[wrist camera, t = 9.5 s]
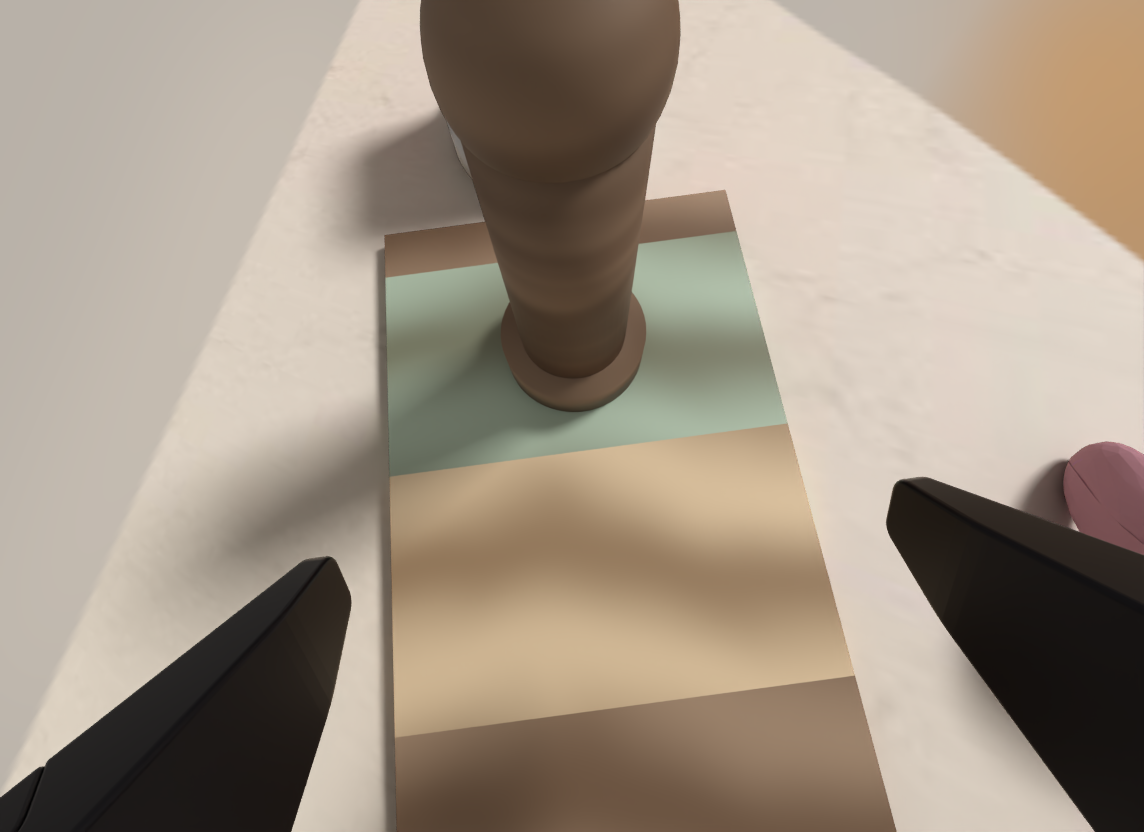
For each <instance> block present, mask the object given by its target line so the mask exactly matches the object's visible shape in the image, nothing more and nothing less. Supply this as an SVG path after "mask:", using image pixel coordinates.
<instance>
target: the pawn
mask: <svg viewBox="0 0 1144 832" xmlns="http://www.w3.org/2000/svg"><path fill="white" fill-rule="evenodd" d="M420 35H421V45H422V53H423V59H424V63H425V67H426V71H427V75H428V79H429V83H430V86H431V89H432V91H433V94H434V96H435V99H436V101H437V103H438V105H439V108H440V110H441V112H442V114H443V115H444V117H445V119H446V120H447V122H448V124H449V125H450V127H451V128H452V130H453V131H454V133H455V134H456V136H457V137H458V138H459V139H460V141H461V144H462V147H463V151H464V154H465V157H466V160H467V164H468V167H469V170H470V173H471V177H472V180H473V183H474V186H475V190H476V193H477V196H478V200H479V203H480V206H481V209H482V213H483V216H484V219H485V222H486V226H487V229H488V232H489V236H490V239H491V242H492V245H493V249H494V252H495V255H496V258H497V262H498V265H499V268H500V272H501V275H502V278H503V281H504V285H505V288H506V291H507V294H508V298H509V301H510V302H509V304H508V306H507V308H506V310H505V312H504V316H503V319H502V324H501V343H502V348H503V352H504V355H505V357H506V359H507V362H508V364H509V367H510V369H511V372H512V374H513V376H514V378H515V380H516V382H517V383H518V385H519V386H520V387H521V389H522V390H523V391H524V392H525V393H526V394H527V395H528V396H529V397H531V398H532V399H534V400H535V401H536V402H538V403H540V404H542V405H544V406H546V407H549V408H551V409H555V410H559V411H565V412H583V411H589V410H593V409H596V408H599V407H602V406H604V405H606V404H608V403H610V402H612V401H613V400H615V399H616V398H617V397H619V396H620V395H621V394H622V393H623V392H624V391H625V390H626V389H627V388H628V387H629V385H630V384H631V383H632V381H633V380H634V378H635V376H636V374H637V372H638V369H639V367H640V363H641V358H642V354H643V350H644V346H645V341H646V321H645V316H644V313H643V310H642V307H641V305H640V303H639V302H638V300H637V298H636V297H635V295H634V294H633V293H632V287H633V280H634V273H635V266H636V259H637V252H638V245H639V238H640V231H641V224H642V217H643V210H644V203H645V196H646V189H647V182H648V175H649V169H650V162H651V155H652V148H653V141H654V134H655V127H656V123H657V121H658V119H659V117H660V116H661V113H662V111H663V109H664V107H665V104H666V102H667V99H668V97H669V94H670V92H671V88H672V85H673V81H674V77H675V73H676V68H677V64H678V56H679V46H680V12H679V2H678V0H421V7H420Z"/></svg>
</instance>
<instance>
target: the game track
mask: <svg viewBox="0 0 1144 832" xmlns="http://www.w3.org/2000/svg"><path fill="white" fill-rule="evenodd" d="M385 284H386V333H387V382H388V431H389V480H390V529H391V578H392V627H393V676H394V725H395V774H396V823H397V832H896V828H895V824H894V821H893V817H892V813H891V809H890V806H889V802H888V798H887V794H886V791H885V787H884V783H883V779H882V776H881V772H880V768H879V764H878V761H877V757H876V753H875V749H874V746H873V742H872V738H871V734H870V731H869V727H868V723H867V719H866V716H865V712H864V708H863V704H862V701H861V697H860V693H859V689H858V686H857V682H856V678H855V674H854V671H853V667H852V663H851V659H850V656H849V652H848V648H847V644H846V641H845V637H844V633H843V629H842V626H841V622H840V618H839V614H838V611H837V607H836V603H835V599H834V596H833V592H832V588H831V584H830V581H829V577H828V573H827V569H826V566H825V562H824V558H823V554H822V551H821V547H820V543H819V539H818V536H817V532H816V528H815V524H814V521H813V517H812V513H811V509H810V506H809V502H808V498H807V494H806V491H805V487H804V483H803V479H802V476H801V472H800V468H799V464H798V461H797V457H796V453H795V449H794V446H793V442H792V438H791V434H790V431H789V427H788V423H787V419H786V416H785V412H784V408H783V404H782V401H781V397H780V393H779V389H778V386H777V382H776V378H775V374H774V371H773V367H772V363H771V359H770V356H769V352H768V348H767V344H766V341H765V337H764V333H763V329H762V326H761V322H760V318H759V314H758V311H757V307H756V303H755V299H754V296H753V292H752V288H751V284H750V281H749V277H748V273H747V269H746V266H745V262H744V258H743V254H742V251H741V247H740V243H739V239H738V236H737V232H736V228H735V224H734V221H733V217H732V213H731V209H730V206H729V202H728V198H727V194H726V191H725V190H721V191H713V192H706V193H698V194H691V195H683V196H676V197H668V198H661V199H653V200H646V201H645V203H644V210H643V217H642V224H641V231H640V238H639V245H638V252H637V259H636V266H635V273H634V280H633V287H632V293H633V294H634V295H635V297H636V298H637V300H638V302H639V303H640V305H641V307H642V310H643V313H644V316H645V321H646V341H645V346H644V350H643V354H642V358H641V363H640V367H639V369H638V372H637V374H636V376H635V378H634V380H633V381H632V383H631V384H630V385H629V387H628V388H627V389H626V390H625V391H624V392H623V393H622V394H621V395H620V396H619V397H617V398H616V399H615V400H613V401H612V402H610V403H608V404H606V405H604V406H602V407H599V408H596V409H593V410H589V411H583V412H565V411H559V410H555V409H551V408H549V407H546V406H544V405H542V404H540V403H538V402H536V401H535V400H534V399H532V398H531V397H529V396H528V395H527V394H526V393H525V392H524V391H523V390H522V389H521V387H520V386H519V385H518V383H517V382H516V380H515V378H514V376H513V374H512V372H511V369H510V367H509V364H508V362H507V359H506V357H505V355H504V352H503V348H502V343H501V324H502V319H503V316H504V312H505V310H506V308H507V306H508V304H509V302H510V301H509V298H508V294H507V291H506V288H505V285H504V281H503V278H502V275H501V272H500V268H499V265H498V262H497V258H496V255H495V252H494V249H493V245H492V242H491V239H490V236H489V232H488V229H487V226H486V222H480V223H473V224H465V225H458V226H450V227H443V228H435V229H428V230H420V231H412V232H405V233H397V234H390V235H385Z"/></svg>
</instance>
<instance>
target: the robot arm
mask: <svg viewBox="0 0 1144 832" xmlns="http://www.w3.org/2000/svg"><path fill="white" fill-rule="evenodd" d="M886 526H887V531H888V533H889V536H890V538H891V539H892V541H893V543H894V544H895V546H896V548H897V549H898V551H899V553H900V554H901V556H902V558H903V559H904V561H905V563H906V564H907V566H908V568H909V570H910V571H911V573H912V575H913V576H914V578H915V580H916V581H917V583H918V585H919V586H920V588H921V590H922V591H923V593H924V595H925V596H926V598H927V600H928V601H929V603H930V605H931V606H932V608H933V610H934V611H935V613H936V614H937V616H938V617H939V619H940V621H941V622H942V624H943V625H944V626H945V628H946V629H947V631H948V632H949V634H950V635H951V636H952V638H953V639H954V641H955V642H956V643H957V645H958V646H959V647H960V649H961V650H962V651H963V653H964V654H965V656H966V657H967V658H968V660H969V661H970V662H971V664H972V665H973V666H974V668H975V669H976V671H977V672H978V673H979V675H980V676H981V677H982V679H983V680H984V681H985V683H986V684H987V685H988V687H989V688H990V690H991V691H992V692H993V694H994V695H995V696H996V698H997V699H998V700H999V702H1000V703H1001V705H1002V706H1003V707H1004V709H1005V710H1006V711H1007V713H1008V714H1009V715H1010V717H1011V718H1012V720H1013V721H1014V722H1015V724H1016V725H1017V726H1018V728H1019V729H1020V730H1021V732H1022V733H1023V734H1024V736H1025V737H1026V739H1027V740H1028V741H1029V743H1030V744H1031V745H1032V747H1033V748H1034V749H1035V751H1036V752H1037V754H1038V755H1039V756H1040V758H1041V759H1042V760H1043V762H1044V763H1045V764H1046V766H1047V767H1048V769H1049V770H1050V771H1051V773H1052V774H1053V775H1054V777H1055V778H1056V779H1057V781H1058V782H1059V784H1060V785H1061V786H1062V788H1063V789H1064V790H1065V792H1066V793H1067V794H1068V796H1069V797H1070V798H1071V800H1072V801H1073V803H1074V804H1075V805H1076V807H1077V808H1078V809H1079V811H1080V812H1081V813H1082V815H1083V816H1084V818H1085V819H1086V820H1087V822H1088V823H1089V824H1090V826H1091V827H1092V828H1093V830H1094V831H1095V832H1144V555H1142V554H1140V553H1137V552H1134V551H1131V550H1129V549H1126V548H1123V547H1120V546H1117V545H1115V544H1112V543H1109V542H1106V541H1103V540H1101V539H1098V538H1095V537H1092V536H1090V535H1087V534H1084V533H1081V532H1078V531H1076V530H1073V529H1070V528H1067V527H1064V526H1062V525H1059V524H1056V523H1053V522H1051V521H1048V520H1045V519H1042V518H1039V517H1037V516H1034V515H1031V514H1028V513H1025V512H1023V511H1020V510H1017V509H1014V508H1012V507H1009V506H1006V505H1003V504H1000V503H998V502H995V501H992V500H989V499H987V498H984V497H981V496H978V495H975V494H973V493H970V492H967V491H964V490H961V489H959V488H956V487H953V486H950V485H948V484H945V483H942V482H939V481H936V480H934V479H931V478H928V477H916V478H909V479H902V480H899V481H897V482H896V484H895V485H894V487H893V491H892V496H891V500H890V505H889V510H888V514H887V519H886ZM350 611H351V595H350V591H349V589H348V587H347V584H346V582H345V580H344V578H343V575H342V573H341V571H340V568H339V566H338V564H337V562H336V560H335V559H334V558H332V557H329V556H326V557H318V558H310V559H306V560H304V561H302V562H301V563H299V564H298V565H297V566H296V567H294V568H293V569H292V570H290V571H289V572H288V573H287V574H285V575H284V576H283V577H282V578H280V579H279V580H278V581H276V582H275V583H274V584H273V585H271V586H270V587H269V588H267V589H266V590H265V591H264V592H262V593H261V594H260V595H259V596H257V597H256V598H255V599H253V600H252V601H251V602H250V603H248V604H247V605H246V606H244V607H243V608H242V609H241V610H239V611H238V612H237V613H236V614H234V615H233V616H232V617H230V618H229V619H228V620H227V621H225V622H224V623H223V624H221V625H220V626H219V627H218V628H216V629H215V630H214V631H213V632H211V633H210V634H209V635H207V636H206V637H205V638H204V639H202V640H201V641H200V642H198V643H197V644H196V645H195V646H193V647H192V648H191V649H190V650H188V651H187V652H186V653H184V654H183V655H182V656H181V657H179V658H178V659H177V660H175V661H174V662H173V663H172V664H170V665H169V666H168V667H167V668H165V669H164V670H163V671H161V672H160V673H159V674H158V675H156V676H155V677H154V678H152V679H151V680H150V681H149V682H147V683H146V684H145V685H144V686H142V687H141V688H140V689H138V690H137V691H136V692H135V693H133V694H132V695H131V696H129V697H128V698H127V699H126V700H124V701H123V702H122V703H121V704H119V705H118V706H117V707H115V708H114V709H113V710H112V711H110V712H109V713H108V714H106V715H105V716H104V717H103V718H101V719H100V720H99V721H98V722H96V723H95V724H94V725H92V726H91V727H90V728H89V729H87V730H86V731H85V732H83V733H82V734H81V735H80V736H78V737H77V738H76V739H75V740H73V741H72V742H71V743H69V744H68V745H67V746H66V747H64V748H63V749H62V750H60V751H59V752H58V753H57V754H55V755H54V756H53V757H52V758H50V759H49V760H48V761H47V763H46V765H45V767H39V768H37V769H36V770H35V771H33V772H32V773H31V774H30V775H28V776H27V777H26V778H25V779H23V780H22V781H21V782H19V783H18V784H17V785H16V786H14V787H13V788H12V789H11V790H9V791H8V792H7V793H6V794H4V795H3V796H2V797H0V832H291V831H292V827H293V824H294V821H295V818H296V815H297V812H298V808H299V805H300V802H301V799H302V796H303V792H304V789H305V786H306V783H307V780H308V777H309V773H310V770H311V767H312V764H313V761H314V757H315V754H316V751H317V748H318V745H319V742H320V738H321V735H322V732H323V729H324V726H325V722H326V719H327V716H328V712H329V709H330V705H331V702H332V697H333V693H334V689H335V684H336V679H337V674H338V670H339V665H340V660H341V655H342V650H343V645H344V640H345V635H346V630H347V626H348V621H349V616H350Z"/></svg>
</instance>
